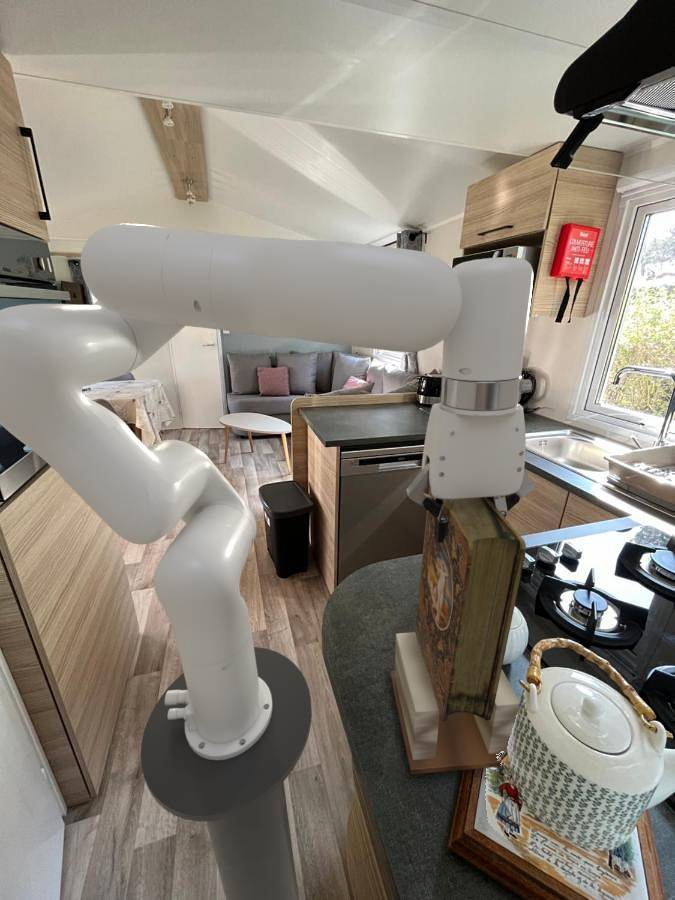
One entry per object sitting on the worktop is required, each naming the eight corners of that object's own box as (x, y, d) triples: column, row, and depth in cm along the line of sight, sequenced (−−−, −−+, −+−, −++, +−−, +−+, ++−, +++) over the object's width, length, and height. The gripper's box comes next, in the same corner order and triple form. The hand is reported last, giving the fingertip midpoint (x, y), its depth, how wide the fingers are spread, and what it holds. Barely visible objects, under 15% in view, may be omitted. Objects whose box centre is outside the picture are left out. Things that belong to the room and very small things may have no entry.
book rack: (410, 774, 49) (413, 720, 45) (390, 676, 62) (391, 628, 58) (517, 765, 49) (528, 711, 46) (474, 669, 62) (480, 622, 59)
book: (413, 619, 60) (427, 474, 51) (448, 619, 60) (468, 473, 51) (443, 727, 44) (470, 545, 36) (489, 726, 44) (528, 545, 36)
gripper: (538, 382, 43) (519, 523, 49) (390, 390, 42) (389, 532, 48) (583, 396, 36) (553, 558, 42) (405, 406, 35) (402, 569, 41)
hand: (465, 543), depth 45 cm, fingers closed on book, 4 cm apart
